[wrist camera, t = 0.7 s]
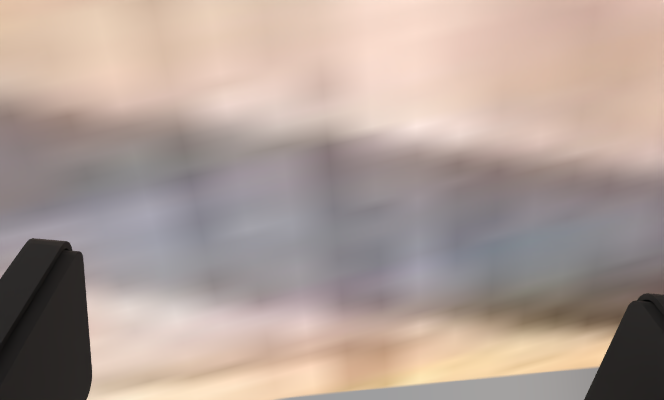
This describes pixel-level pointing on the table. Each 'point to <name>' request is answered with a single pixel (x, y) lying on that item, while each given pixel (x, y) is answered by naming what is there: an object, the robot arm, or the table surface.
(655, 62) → the table surface
